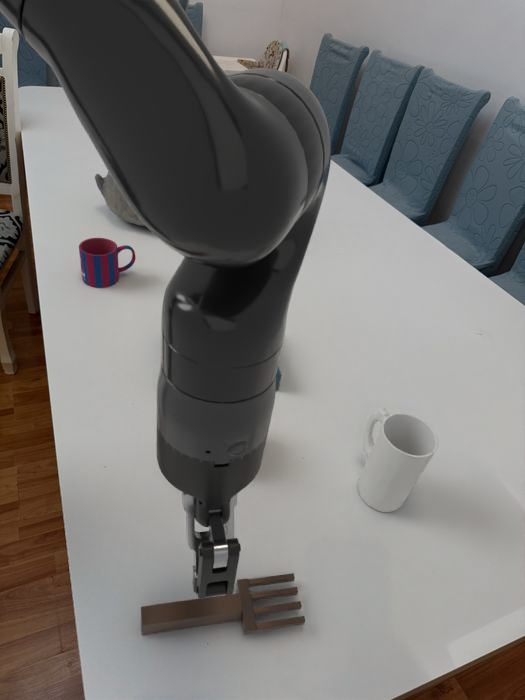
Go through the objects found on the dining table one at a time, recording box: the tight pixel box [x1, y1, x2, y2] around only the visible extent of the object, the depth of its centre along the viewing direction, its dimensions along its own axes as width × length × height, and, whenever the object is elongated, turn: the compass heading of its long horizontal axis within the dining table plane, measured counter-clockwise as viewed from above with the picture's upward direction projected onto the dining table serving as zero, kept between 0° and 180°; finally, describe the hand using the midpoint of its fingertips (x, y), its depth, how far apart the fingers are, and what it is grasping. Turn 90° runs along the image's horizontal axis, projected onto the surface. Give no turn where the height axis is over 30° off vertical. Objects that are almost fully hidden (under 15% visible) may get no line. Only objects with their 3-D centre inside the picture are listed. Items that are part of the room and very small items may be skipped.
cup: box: [78, 237, 136, 288], centre depth 93 cm, size 7×10×7 cm
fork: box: [140, 572, 306, 636], centre depth 51 cm, size 16×5×2 cm, turn 101°
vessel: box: [94, 170, 146, 227], centre depth 110 cm, size 22×22×20 cm
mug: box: [357, 406, 439, 513], centre depth 64 cm, size 10×7×12 cm, turn 23°
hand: (200, 538), depth 43 cm, fingers open, 8 cm apart
